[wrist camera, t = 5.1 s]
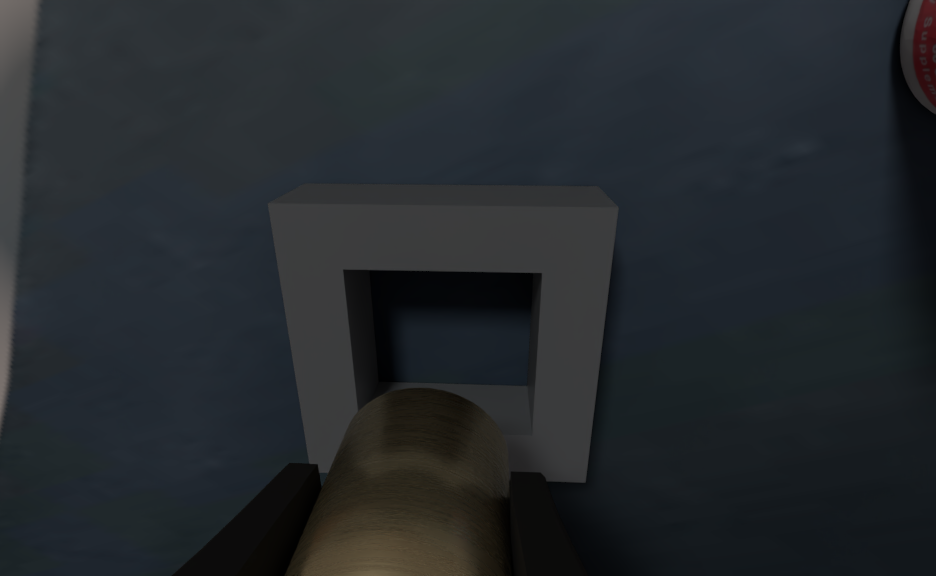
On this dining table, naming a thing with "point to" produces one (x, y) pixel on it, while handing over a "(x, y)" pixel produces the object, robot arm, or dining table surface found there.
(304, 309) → the coupling block
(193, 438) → the dining table surface
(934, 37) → the pill bottle
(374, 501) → the brass cylinder
